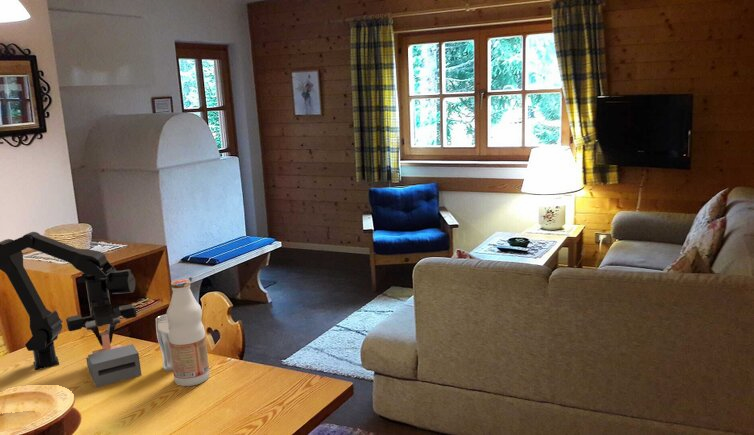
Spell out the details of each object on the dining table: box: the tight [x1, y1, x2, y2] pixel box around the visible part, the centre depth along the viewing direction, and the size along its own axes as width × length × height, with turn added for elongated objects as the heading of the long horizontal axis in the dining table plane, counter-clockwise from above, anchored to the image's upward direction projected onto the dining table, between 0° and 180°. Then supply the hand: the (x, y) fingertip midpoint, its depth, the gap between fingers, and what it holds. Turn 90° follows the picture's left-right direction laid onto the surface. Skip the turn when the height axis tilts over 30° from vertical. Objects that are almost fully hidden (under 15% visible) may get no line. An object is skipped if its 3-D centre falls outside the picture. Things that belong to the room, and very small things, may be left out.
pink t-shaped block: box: [91, 330, 124, 369], centre depth 180 cm, size 16×8×5 cm, turn 32°
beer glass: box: [155, 313, 173, 372], centre depth 178 cm, size 7×7×15 cm
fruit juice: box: [166, 278, 210, 387], centre depth 168 cm, size 9×9×28 cm
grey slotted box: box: [85, 343, 142, 388], centre depth 178 cm, size 16×12×7 cm
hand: (105, 344), depth 186 cm, fingers closed on pink t-shaped block, 2 cm apart
